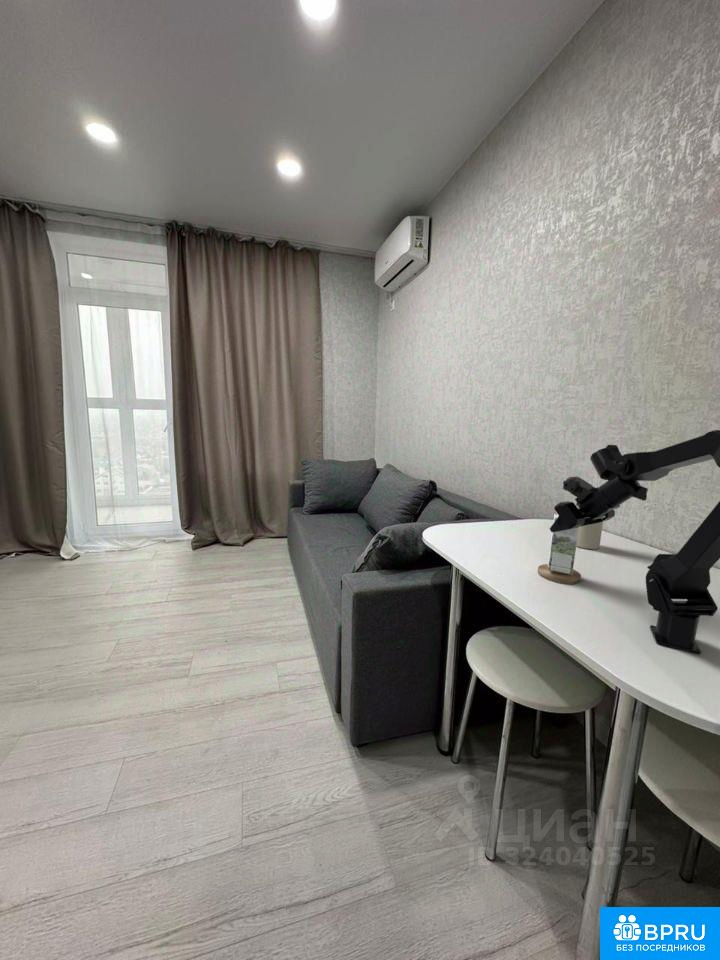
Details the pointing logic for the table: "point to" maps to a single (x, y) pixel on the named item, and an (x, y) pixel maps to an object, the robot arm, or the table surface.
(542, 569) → the walnut stand
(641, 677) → the table surface
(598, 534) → the travel mug
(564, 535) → the syrup box
